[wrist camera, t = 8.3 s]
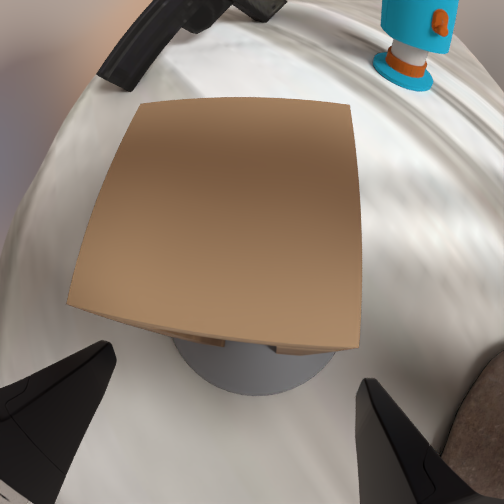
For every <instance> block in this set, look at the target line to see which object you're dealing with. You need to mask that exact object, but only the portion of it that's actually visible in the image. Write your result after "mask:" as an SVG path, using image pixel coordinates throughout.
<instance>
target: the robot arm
mask: <svg viewBox="0 0 504 504" xmlns="http://www.w3.org/2000/svg"><path fill="white" fill-rule="evenodd" d="M116 361H117V359H116V355H115V352H114V349H113V346H112V344H111V343H110V342H107V341H104V340H101V341H98V342H96V343H94V344H92V345H90V346H88V347H86V348H84V349H82V350H80V351H78V352H76V353H74V354H72V355H70V356H68V357H66V358H64V359H62V360H60V361H58V362H56V363H54V364H52V365H50V366H48V367H46V368H44V369H42V370H40V371H38V372H36V373H34V374H32V375H31V376H28V377H26V378H24V379H22V380H20V381H17V382H15V383H13V384H10V385H8V386H5V387H3V388H0V504H27V503H28V501H30V502H32V503H33V504H55V501H56V499H57V496H58V494H59V491H60V489H61V487H62V484H63V482H64V479H65V477H66V474H67V472H68V470H69V468H70V465H71V463H72V461H73V459H74V456H75V454H76V452H77V450H78V448H79V445H80V443H81V441H82V439H83V437H84V435H85V433H86V430H87V428H88V426H89V424H90V422H91V420H92V418H93V416H94V414H95V412H96V410H97V408H98V406H99V404H100V402H101V400H102V398H103V396H104V394H105V391H106V389H107V386H108V383H109V381H110V378H111V375H112V373H113V370H114V368H115V365H116ZM355 439H356V451H357V463H358V477H359V495H360V504H504V499H500V498H494V497H488V496H484V495H482V494H480V493H478V492H476V491H475V490H473V489H472V488H471V487H470V486H469V485H468V484H467V483H466V482H465V481H464V480H463V479H462V478H461V477H459V476H458V475H457V474H456V473H455V472H454V471H453V470H452V469H451V468H450V467H449V466H448V465H447V464H446V463H445V462H444V460H443V459H442V458H441V457H440V456H439V455H438V454H437V452H436V451H435V450H434V449H433V447H432V446H431V445H429V443H428V441H427V440H426V439H425V438H424V437H423V435H422V434H421V433H420V432H419V430H418V429H417V428H416V427H415V426H414V424H413V423H412V422H411V421H410V419H409V418H408V417H407V416H406V415H405V413H404V412H403V411H402V410H401V409H400V407H399V406H398V405H397V404H396V403H395V401H394V400H393V399H392V398H391V397H390V395H389V394H388V393H387V392H386V390H385V389H384V388H383V387H382V386H381V384H380V383H379V382H378V381H377V380H376V379H375V378H364V379H363V380H362V382H361V384H360V387H359V389H358V391H357V394H356V424H355Z"/></svg>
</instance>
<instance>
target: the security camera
mask: <svg viewBox="0 0 504 504" xmlns="http://www.w3.org/2000/svg"><path fill="white" fill-rule="evenodd" d="M458 1H459V0H382V12H381V27H382V29H383V30H384V31H385V32H386V33H387V34H388V35H389V36H390V37H392V38H393V44H392V46H390V47H389V48H388V52H383V53H378V54H376V55H375V57H374V60H373V65H374V67H375V69H376V70H377V71H378V72H379V73H380V74H381V75H382V76H383V77H384V78H386V79H387V80H389V81H391V82H392V83H394V84H396V85H398V86H401V87H403V88H406V89H409V90H414V91H427V90H429V89H430V88H431V86H432V84H433V79H432V76H431V75H430V73H429V72H428V71H427V70H426V67H427V63H426V58H427V55H428V52H433V53H439V54H446V53H448V52H449V48H450V43H451V39H452V34H453V29H454V24H455V19H456V14H457V8H458Z"/></svg>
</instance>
